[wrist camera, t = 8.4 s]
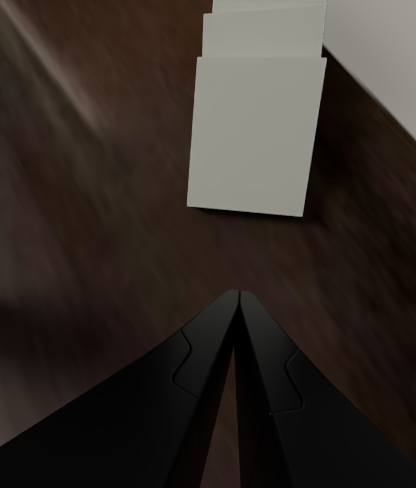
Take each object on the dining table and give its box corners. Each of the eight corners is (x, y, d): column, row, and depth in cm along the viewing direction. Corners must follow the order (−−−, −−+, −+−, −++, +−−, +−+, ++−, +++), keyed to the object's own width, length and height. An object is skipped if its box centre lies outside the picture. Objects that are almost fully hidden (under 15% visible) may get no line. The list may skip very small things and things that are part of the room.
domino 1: (302, 216, 20) (326, 57, 18) (186, 206, 22) (197, 57, 20) (297, 215, 22) (319, 71, 20) (191, 205, 24) (201, 70, 22)
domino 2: (308, 162, 22) (326, 5, 19) (198, 160, 23) (203, 13, 21) (303, 165, 24) (319, 23, 21) (202, 163, 25) (207, 29, 23)
